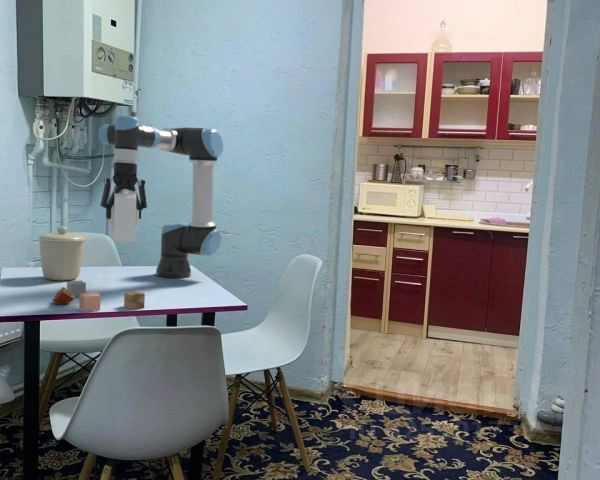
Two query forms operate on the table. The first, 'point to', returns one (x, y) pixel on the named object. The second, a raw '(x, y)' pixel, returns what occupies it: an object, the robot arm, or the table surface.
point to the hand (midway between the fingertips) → (123, 228)
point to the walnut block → (134, 299)
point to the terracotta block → (89, 301)
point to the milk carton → (124, 215)
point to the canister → (61, 254)
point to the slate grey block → (76, 287)
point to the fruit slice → (63, 296)
